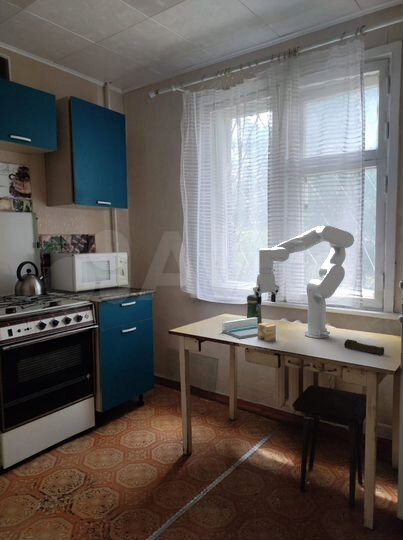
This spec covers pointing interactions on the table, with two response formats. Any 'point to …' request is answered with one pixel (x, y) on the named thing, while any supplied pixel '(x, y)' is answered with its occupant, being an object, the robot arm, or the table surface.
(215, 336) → the table surface
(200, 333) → the table surface
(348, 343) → the hand tool
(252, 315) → the coffee jar
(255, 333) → the cleat board
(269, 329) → the oak block
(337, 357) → the table surface
